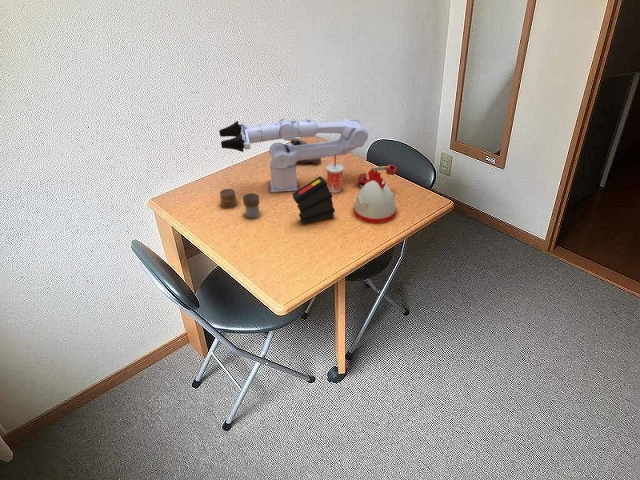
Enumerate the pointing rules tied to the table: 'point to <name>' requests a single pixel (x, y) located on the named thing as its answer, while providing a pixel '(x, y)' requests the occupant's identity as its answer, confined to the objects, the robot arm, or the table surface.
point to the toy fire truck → (389, 170)
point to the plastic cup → (252, 211)
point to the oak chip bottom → (228, 204)
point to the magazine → (314, 201)
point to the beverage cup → (334, 176)
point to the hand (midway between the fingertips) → (220, 139)
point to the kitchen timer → (375, 201)
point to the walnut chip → (251, 200)
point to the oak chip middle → (227, 195)
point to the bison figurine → (301, 142)
